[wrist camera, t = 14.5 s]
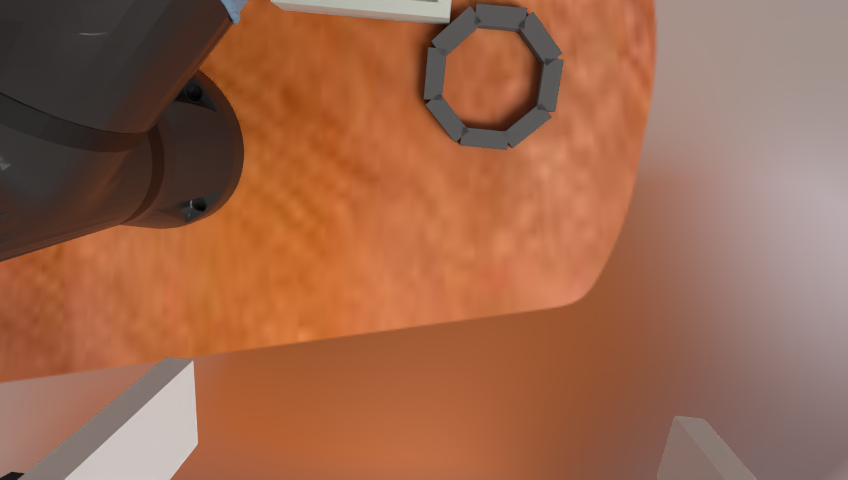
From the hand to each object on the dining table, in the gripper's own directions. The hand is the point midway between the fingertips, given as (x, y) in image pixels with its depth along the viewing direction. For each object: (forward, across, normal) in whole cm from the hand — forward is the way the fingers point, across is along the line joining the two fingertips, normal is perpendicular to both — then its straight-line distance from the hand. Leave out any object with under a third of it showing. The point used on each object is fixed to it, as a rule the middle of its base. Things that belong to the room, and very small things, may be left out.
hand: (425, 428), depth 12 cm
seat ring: (+29, +3, +12) cm, 31 cm away
